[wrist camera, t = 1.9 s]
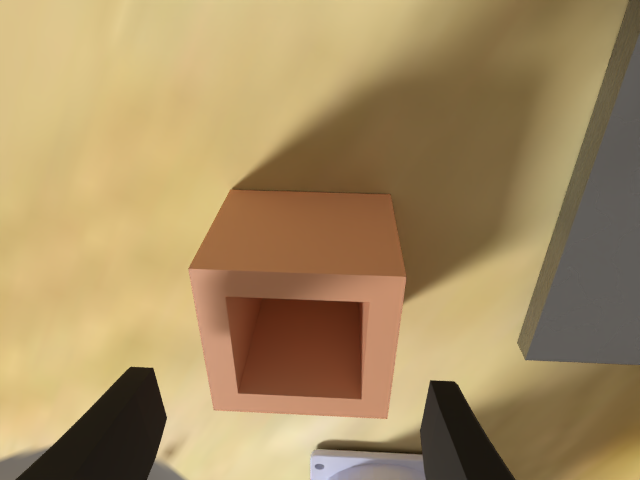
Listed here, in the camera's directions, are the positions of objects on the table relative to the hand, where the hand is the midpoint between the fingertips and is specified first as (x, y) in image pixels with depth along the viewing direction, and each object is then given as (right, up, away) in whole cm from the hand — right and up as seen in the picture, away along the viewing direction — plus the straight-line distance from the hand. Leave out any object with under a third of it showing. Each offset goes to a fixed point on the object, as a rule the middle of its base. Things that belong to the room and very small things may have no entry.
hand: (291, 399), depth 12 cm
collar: (0, +3, +6) cm, 7 cm away
